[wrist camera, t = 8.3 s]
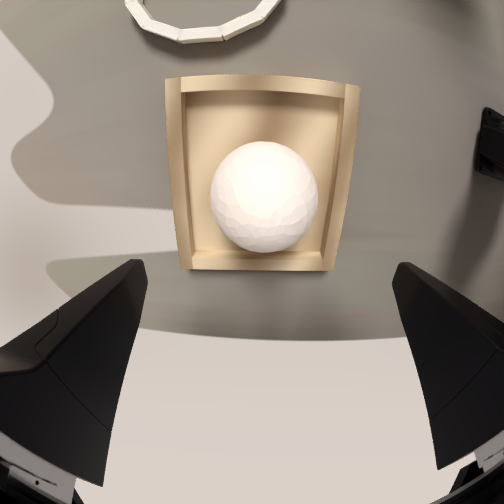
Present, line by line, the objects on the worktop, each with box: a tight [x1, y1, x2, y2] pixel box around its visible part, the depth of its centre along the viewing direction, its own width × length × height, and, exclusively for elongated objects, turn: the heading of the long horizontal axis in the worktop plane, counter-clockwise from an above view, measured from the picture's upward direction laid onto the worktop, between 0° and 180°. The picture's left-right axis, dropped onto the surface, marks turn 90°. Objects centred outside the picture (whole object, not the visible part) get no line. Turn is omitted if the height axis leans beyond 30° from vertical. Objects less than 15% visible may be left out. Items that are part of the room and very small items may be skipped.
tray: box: [165, 74, 360, 271], centre depth 18 cm, size 12×14×2 cm
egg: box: [210, 141, 318, 253], centre depth 15 cm, size 6×6×8 cm
